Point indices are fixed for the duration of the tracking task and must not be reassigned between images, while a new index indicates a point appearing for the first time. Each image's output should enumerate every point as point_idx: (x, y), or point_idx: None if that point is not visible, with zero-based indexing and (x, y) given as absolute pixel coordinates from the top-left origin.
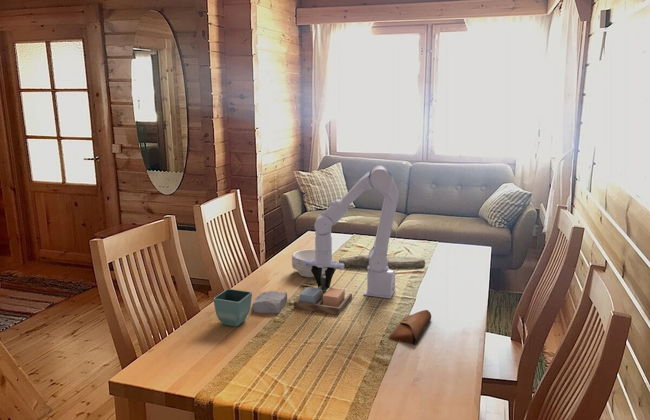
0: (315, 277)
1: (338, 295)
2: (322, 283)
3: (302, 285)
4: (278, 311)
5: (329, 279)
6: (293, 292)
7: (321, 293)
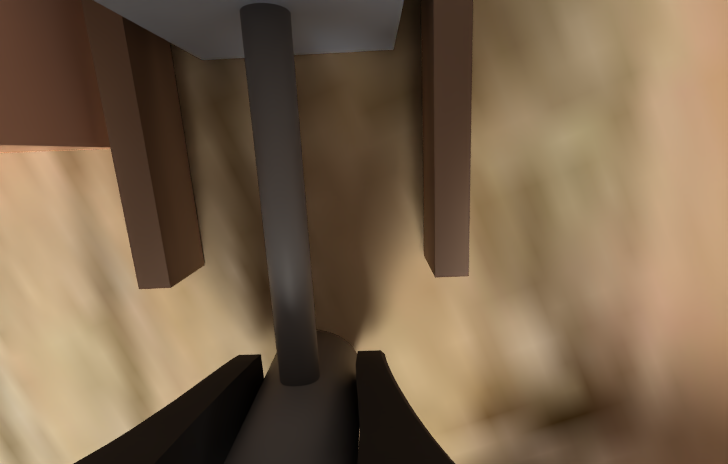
0: (421, 448)
1: None
2: (295, 392)
3: (616, 426)
4: None
5: (90, 454)
6: (656, 200)
7: (126, 9)
